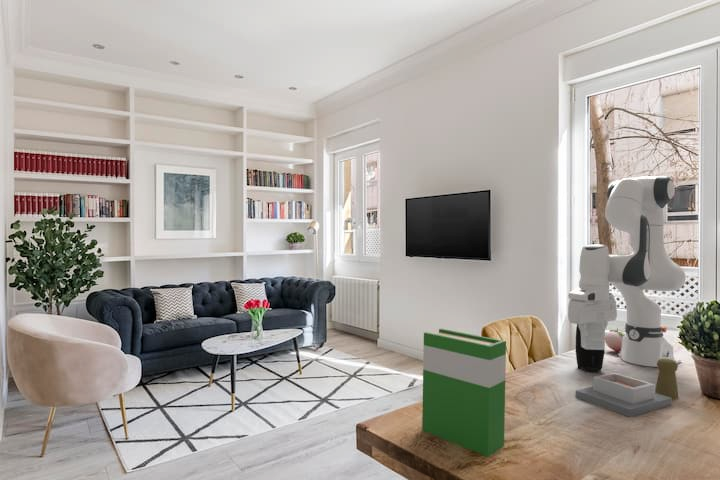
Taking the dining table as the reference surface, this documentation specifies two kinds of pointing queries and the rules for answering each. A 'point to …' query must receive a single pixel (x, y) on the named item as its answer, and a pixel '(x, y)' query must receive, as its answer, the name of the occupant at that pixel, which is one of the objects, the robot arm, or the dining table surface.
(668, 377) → the cork
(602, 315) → the skincare box
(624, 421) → the dining table surface
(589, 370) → the portable speaker
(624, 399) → the switch box
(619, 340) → the decorative fruit
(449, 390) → the hardback book
